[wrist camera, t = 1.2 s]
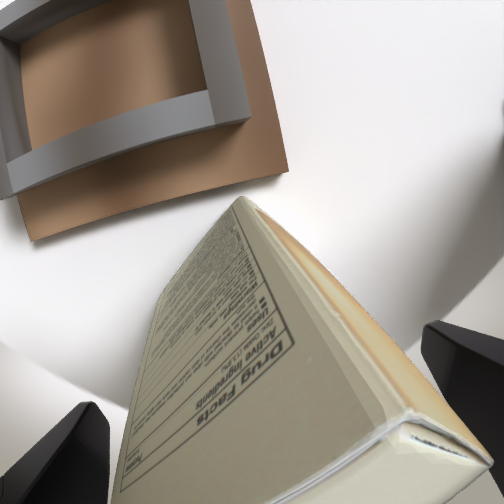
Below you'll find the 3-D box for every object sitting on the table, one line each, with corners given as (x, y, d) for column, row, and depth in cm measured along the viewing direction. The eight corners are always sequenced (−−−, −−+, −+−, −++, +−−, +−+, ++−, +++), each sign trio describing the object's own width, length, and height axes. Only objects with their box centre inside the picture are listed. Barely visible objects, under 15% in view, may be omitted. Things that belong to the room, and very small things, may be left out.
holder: (230, -56, 9) (234, -91, 6) (284, 170, 13) (303, 177, 10) (5, 24, 8) (-26, 10, 6) (38, 237, 13) (6, 258, 10)
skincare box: (229, 341, 16) (262, 590, 4) (157, 294, 14) (92, 566, 3) (316, 247, 14) (506, 465, 3) (244, 185, 13) (420, 426, 2)
